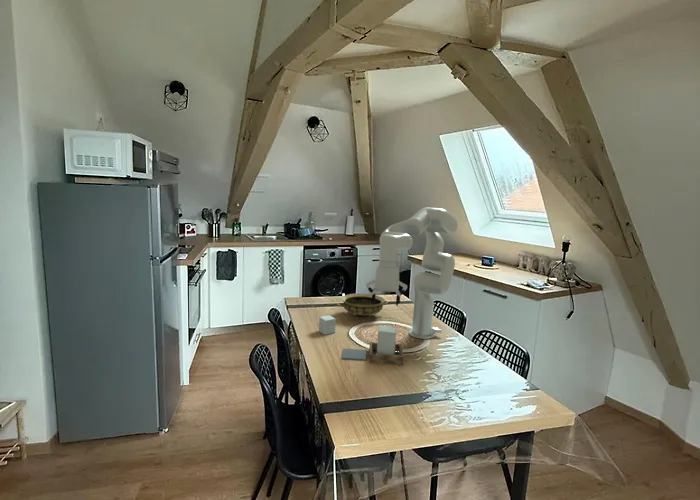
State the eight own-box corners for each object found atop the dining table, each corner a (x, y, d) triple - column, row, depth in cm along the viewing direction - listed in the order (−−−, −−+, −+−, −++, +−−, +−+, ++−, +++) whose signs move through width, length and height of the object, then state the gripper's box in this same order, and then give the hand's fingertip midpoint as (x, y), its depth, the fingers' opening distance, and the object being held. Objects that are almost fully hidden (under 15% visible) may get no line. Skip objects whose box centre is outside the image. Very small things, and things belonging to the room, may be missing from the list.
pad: (366, 351, 186) (366, 349, 186) (365, 360, 176) (365, 359, 176) (343, 349, 186) (343, 348, 186) (342, 359, 176) (342, 357, 176)
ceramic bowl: (380, 308, 250) (381, 292, 248) (395, 321, 227) (396, 303, 225) (331, 310, 241) (331, 293, 239) (342, 324, 218) (342, 306, 217)
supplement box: (393, 361, 176) (395, 333, 174) (375, 359, 178) (377, 331, 175) (395, 354, 183) (396, 327, 181) (378, 352, 185) (379, 325, 183)
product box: (329, 329, 211) (329, 315, 210) (335, 332, 206) (336, 318, 205) (318, 330, 208) (319, 316, 207) (324, 334, 203) (325, 320, 202)
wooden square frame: (400, 351, 187) (401, 344, 186) (403, 365, 173) (403, 357, 173) (369, 349, 188) (369, 342, 187) (369, 362, 174) (369, 354, 173)
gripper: (408, 263, 177) (405, 302, 180) (367, 261, 178) (365, 300, 181) (409, 267, 169) (406, 308, 172) (366, 264, 171) (364, 305, 174)
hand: (385, 303), depth 177 cm, fingers open, 9 cm apart
